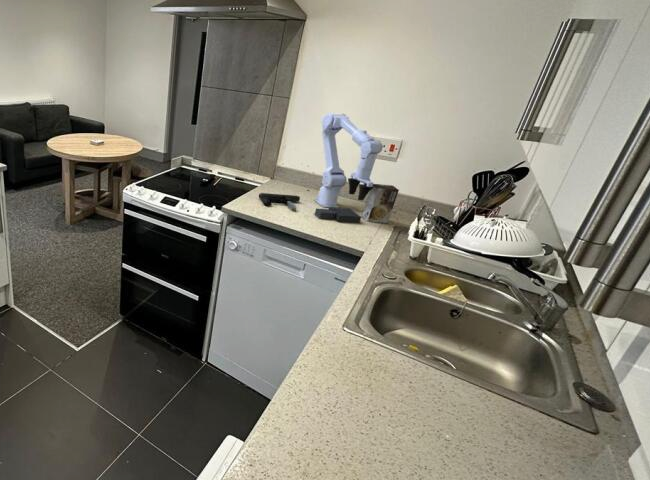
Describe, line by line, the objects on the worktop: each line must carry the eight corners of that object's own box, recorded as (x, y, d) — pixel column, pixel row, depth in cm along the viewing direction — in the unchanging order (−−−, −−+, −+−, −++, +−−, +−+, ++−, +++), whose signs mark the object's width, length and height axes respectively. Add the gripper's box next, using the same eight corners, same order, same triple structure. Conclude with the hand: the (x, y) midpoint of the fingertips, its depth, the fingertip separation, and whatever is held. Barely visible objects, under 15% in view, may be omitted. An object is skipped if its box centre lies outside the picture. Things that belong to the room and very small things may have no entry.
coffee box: (381, 218, 182) (392, 185, 175) (387, 223, 176) (400, 189, 169) (361, 216, 182) (372, 183, 176) (367, 221, 176) (378, 187, 170)
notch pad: (327, 213, 182) (328, 207, 181) (347, 214, 183) (349, 208, 182) (337, 221, 173) (339, 215, 172) (359, 223, 174) (361, 216, 172)
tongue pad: (314, 214, 179) (316, 208, 178) (333, 215, 180) (335, 209, 179) (319, 218, 175) (321, 212, 173) (339, 219, 175) (341, 213, 174)
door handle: (309, 207, 180) (297, 194, 195) (266, 204, 180) (258, 190, 194) (307, 214, 182) (296, 200, 196) (264, 210, 181) (256, 197, 196)
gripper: (347, 163, 178) (339, 191, 183) (365, 172, 165) (356, 202, 170) (362, 164, 179) (353, 192, 184) (381, 173, 165) (371, 203, 171)
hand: (355, 197), depth 177 cm, fingers open, 7 cm apart
